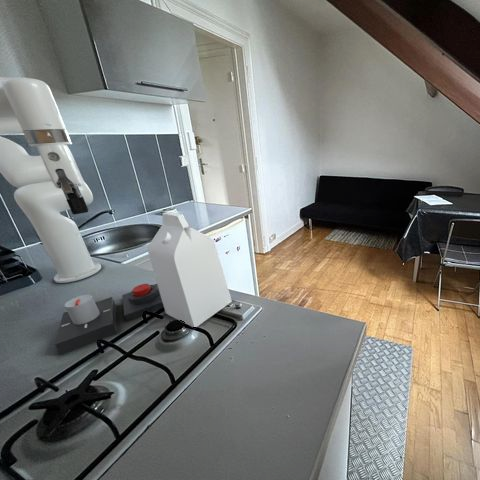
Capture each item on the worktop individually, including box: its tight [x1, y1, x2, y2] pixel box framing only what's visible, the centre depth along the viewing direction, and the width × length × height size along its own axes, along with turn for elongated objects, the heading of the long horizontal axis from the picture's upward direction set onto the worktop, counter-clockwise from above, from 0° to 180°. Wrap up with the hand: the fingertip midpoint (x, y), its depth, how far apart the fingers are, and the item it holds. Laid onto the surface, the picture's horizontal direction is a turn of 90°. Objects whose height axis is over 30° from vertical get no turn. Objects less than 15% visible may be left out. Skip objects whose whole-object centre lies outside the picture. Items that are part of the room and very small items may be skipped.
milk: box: [147, 211, 233, 328], centre depth 64 cm, size 12×12×26 cm
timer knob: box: [64, 294, 100, 325], centre depth 62 cm, size 5×5×5 cm
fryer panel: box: [54, 296, 118, 356], centre depth 64 cm, size 14×10×3 cm
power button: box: [132, 283, 151, 297], centre depth 71 cm, size 4×4×2 cm
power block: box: [121, 283, 164, 322], centre depth 72 cm, size 12×10×4 cm
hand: (81, 212), depth 69 cm, fingers closed
